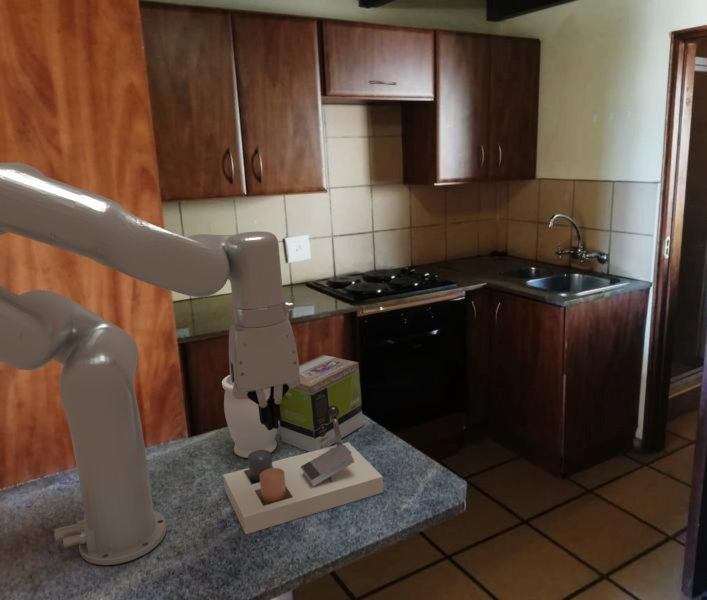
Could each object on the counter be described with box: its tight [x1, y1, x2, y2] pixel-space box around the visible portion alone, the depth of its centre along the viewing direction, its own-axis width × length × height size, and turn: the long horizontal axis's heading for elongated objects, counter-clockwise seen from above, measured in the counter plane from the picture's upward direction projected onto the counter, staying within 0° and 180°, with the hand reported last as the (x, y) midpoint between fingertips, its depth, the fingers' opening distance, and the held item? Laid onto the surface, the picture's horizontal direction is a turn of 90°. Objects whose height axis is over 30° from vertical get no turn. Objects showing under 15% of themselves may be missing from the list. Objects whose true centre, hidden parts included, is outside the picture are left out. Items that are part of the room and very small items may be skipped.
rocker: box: [301, 444, 354, 486], centre depth 100 cm, size 8×5×1 cm, turn 115°
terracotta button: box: [260, 468, 286, 506], centre depth 95 cm, size 4×4×4 cm
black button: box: [247, 450, 273, 485], centre depth 101 cm, size 4×4×4 cm
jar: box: [221, 374, 278, 459], centre depth 115 cm, size 11×10×15 cm
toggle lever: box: [328, 406, 343, 446], centre depth 108 cm, size 2×2×8 cm
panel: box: [222, 441, 384, 535], centre depth 101 cm, size 24×14×4 cm, turn 115°
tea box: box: [278, 354, 364, 453], centre depth 120 cm, size 15×10×15 cm
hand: (270, 425), depth 93 cm, fingers closed
